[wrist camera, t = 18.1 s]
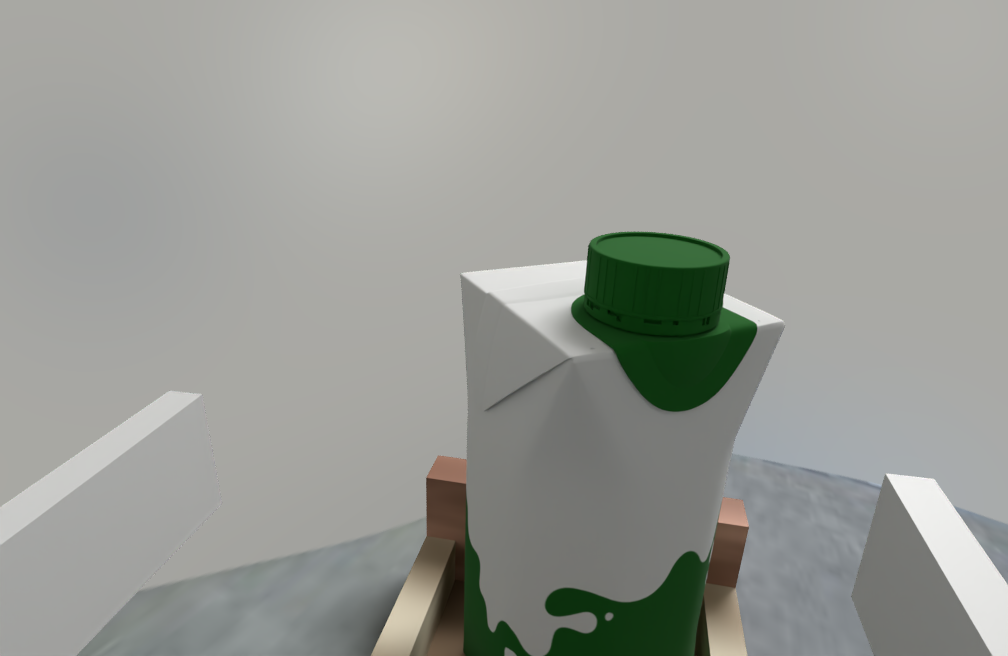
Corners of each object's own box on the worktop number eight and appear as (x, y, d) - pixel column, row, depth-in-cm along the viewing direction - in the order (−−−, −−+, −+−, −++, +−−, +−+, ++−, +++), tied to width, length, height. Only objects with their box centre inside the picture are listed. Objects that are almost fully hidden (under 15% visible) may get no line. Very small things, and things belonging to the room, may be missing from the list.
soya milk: (524, 838, 23) (567, 288, 15) (435, 640, 30) (435, 208, 23) (720, 741, 26) (834, 257, 19) (597, 585, 34) (643, 197, 26)
